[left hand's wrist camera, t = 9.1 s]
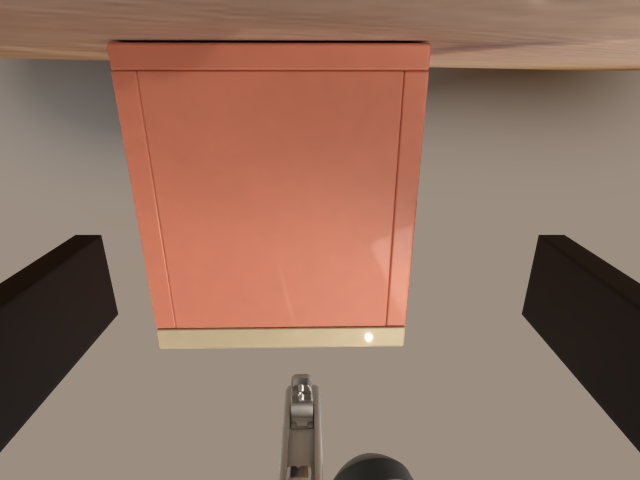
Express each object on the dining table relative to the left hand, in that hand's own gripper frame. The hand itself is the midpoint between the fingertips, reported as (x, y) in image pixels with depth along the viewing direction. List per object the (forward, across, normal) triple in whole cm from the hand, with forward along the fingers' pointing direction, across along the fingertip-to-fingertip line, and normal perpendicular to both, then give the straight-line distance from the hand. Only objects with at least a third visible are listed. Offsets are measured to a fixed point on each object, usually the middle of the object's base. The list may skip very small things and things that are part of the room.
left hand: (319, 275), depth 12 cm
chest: (+8, +2, -7) cm, 11 cm away
